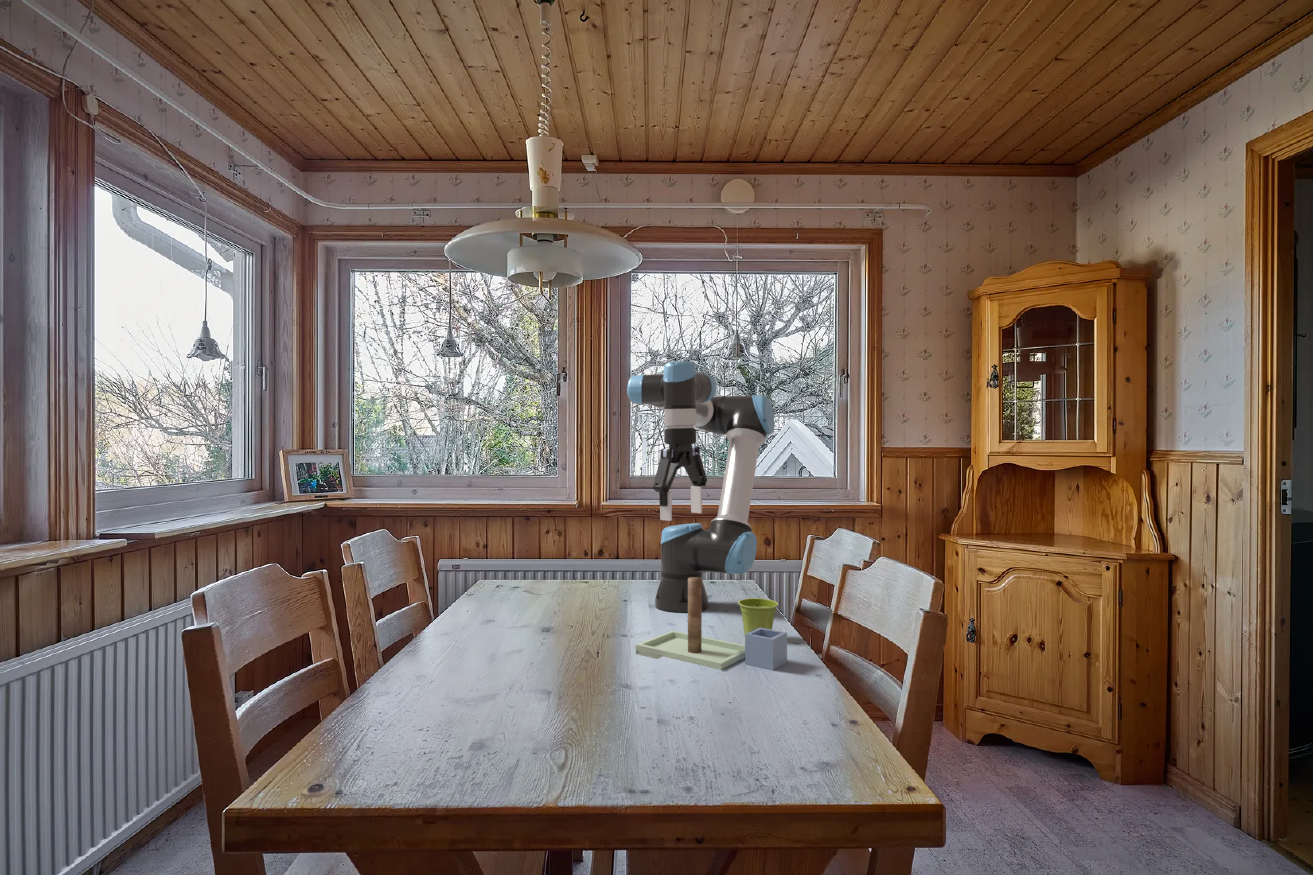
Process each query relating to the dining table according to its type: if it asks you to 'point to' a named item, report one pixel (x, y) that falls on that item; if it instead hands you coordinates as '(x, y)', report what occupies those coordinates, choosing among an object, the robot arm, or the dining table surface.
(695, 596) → the dowel
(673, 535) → the robot arm
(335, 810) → the dining table surface
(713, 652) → the tray
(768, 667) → the open box
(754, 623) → the plant pot
